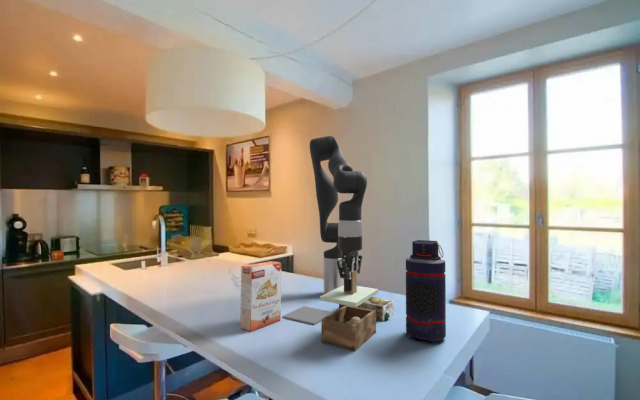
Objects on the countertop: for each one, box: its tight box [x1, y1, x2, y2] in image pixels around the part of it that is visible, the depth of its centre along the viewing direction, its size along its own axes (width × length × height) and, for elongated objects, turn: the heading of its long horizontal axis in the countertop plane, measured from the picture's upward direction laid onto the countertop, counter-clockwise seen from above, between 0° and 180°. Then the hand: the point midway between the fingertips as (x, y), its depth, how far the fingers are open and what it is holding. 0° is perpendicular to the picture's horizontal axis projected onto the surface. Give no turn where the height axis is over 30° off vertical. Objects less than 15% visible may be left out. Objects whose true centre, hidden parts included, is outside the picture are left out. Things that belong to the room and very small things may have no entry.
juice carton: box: [338, 296, 394, 322], centre depth 124 cm, size 20×10×6 cm, turn 55°
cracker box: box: [239, 260, 282, 332], centre depth 112 cm, size 14×6×21 cm, turn 142°
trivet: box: [281, 305, 334, 326], centre depth 121 cm, size 14×14×1 cm
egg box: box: [320, 305, 377, 352], centre depth 101 cm, size 16×11×7 cm
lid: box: [319, 270, 379, 307], centre depth 101 cm, size 17×12×9 cm
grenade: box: [405, 239, 447, 345], centre depth 102 cm, size 14×12×30 cm
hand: (350, 289), depth 101 cm, fingers closed on lid, 3 cm apart
